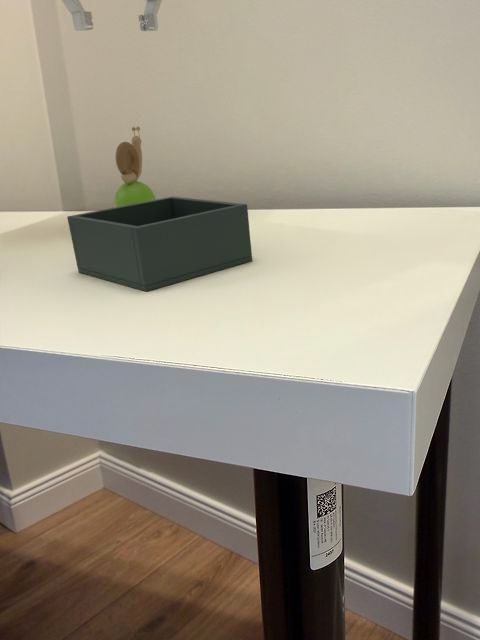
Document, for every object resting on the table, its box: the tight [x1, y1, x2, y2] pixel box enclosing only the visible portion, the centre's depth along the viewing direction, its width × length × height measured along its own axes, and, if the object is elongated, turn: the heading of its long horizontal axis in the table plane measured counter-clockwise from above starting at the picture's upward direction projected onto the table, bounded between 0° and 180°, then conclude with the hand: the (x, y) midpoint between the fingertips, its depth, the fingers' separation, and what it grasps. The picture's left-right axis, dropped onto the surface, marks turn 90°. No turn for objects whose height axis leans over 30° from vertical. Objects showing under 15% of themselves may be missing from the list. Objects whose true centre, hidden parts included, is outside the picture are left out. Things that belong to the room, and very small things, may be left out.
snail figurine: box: [114, 126, 156, 208], centre depth 87 cm, size 5×6×12 cm
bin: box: [66, 196, 253, 292], centre depth 64 cm, size 12×12×6 cm
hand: (118, 30), depth 78 cm, fingers open, 8 cm apart
